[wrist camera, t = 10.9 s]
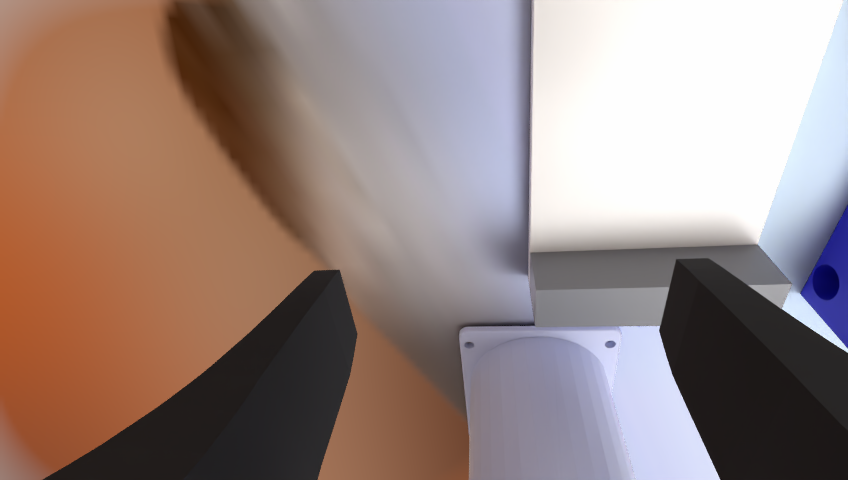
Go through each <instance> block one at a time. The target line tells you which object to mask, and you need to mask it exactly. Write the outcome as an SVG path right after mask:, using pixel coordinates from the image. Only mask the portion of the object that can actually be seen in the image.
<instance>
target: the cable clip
mask: <svg viewBox="0 0 848 480" xmlns="http://www.w3.org/2000/svg"><path fill="white" fill-rule="evenodd" d="M800 294H801V295H802V296H803V297H804V299H805V300H806V301H807V302H808V303H809V304H810V305H811V307H812V308H813V309H814V310H815V311H816V312H817V314H818V315H819V316H820V317H821V318H822V319H823V320H824V322H825V323H826V324H827V325H828V326H829V327H830V328H831V330H832V331H833V332H834V333H835V334H836V335H837V337H838V338H839V339H840V340H841V341H842V342H843V343H844V345H845V346H846V347H847V348H848V205H847V207H846V209H845V211H844V213H843V215H842V217H841V218H840V220H839V222H838V224H837V226H836V228H835V230H834V232H833V233H832V235H831V237H830V239H829V241H828V243H827V245H826V247H825V248H824V250H823V252H822V254H821V256H820V258H819V260H818V262H817V263H816V265H815V267H814V269H813V271H812V273H811V275H810V277H809V278H808V280H807V282H806V284H805V286H804V288H803V290H802V292H801V293H800Z"/></svg>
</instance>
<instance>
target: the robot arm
mask: <svg viewBox="0 0 848 480" xmlns="http://www.w3.org/2000/svg"><path fill="white" fill-rule="evenodd" d="M659 332H660V335H661V338H662V342H663V345H664V349H665V352H666V356H667V359H668V362H669V365H670V368H671V371H672V375H673V377H674V379H675V381H676V384H677V386H678V388H679V390H680V393H681V395H682V397H683V399H684V402H685V404H686V406H687V408H688V410H689V413H690V415H691V417H692V419H693V421H694V423H695V426H696V428H697V430H698V432H699V434H700V436H701V439H702V441H703V443H704V445H705V447H706V449H707V452H708V454H709V456H710V458H711V460H712V462H713V465H714V467H715V469H716V471H717V473H718V475H719V478H720V480H848V353H847V352H845V351H844V350H842V349H841V348H839V347H837V346H836V345H834V344H833V343H831V342H830V341H828V340H827V339H825V338H824V337H822V336H821V335H819V334H818V333H816V332H814V331H813V330H812V329H810V328H809V327H807V326H806V325H804V324H803V323H801V322H800V321H798V320H797V319H795V318H794V317H792V316H791V315H789V314H788V313H787V312H785V311H784V310H782V309H781V308H779V307H778V306H777V305H775V304H774V303H772V302H771V301H769V300H768V299H767V298H765V297H764V296H762V295H761V294H760V293H758V292H757V291H755V290H754V289H752V288H751V287H750V286H748V285H747V284H745V283H744V282H743V281H741V280H740V279H738V278H737V277H736V276H734V275H733V274H731V273H730V272H728V271H727V270H726V269H724V268H723V267H721V266H720V265H718V264H717V263H715V262H714V261H712V260H711V259H709V258H694V259H676V262H675V266H674V270H673V275H672V279H671V283H670V287H669V291H668V296H667V300H666V304H665V308H664V313H663V317H662V321H661V325H660V329H659ZM356 339H357V331H356V328H355V324H354V320H353V317H352V313H351V309H350V306H349V302H348V298H347V295H346V291H345V288H344V284H343V280H342V277H341V273H340V270H322V271H314V272H312V273H311V274H310V275H309V276H308V277H307V278H306V279H305V280H304V281H303V282H302V283H301V284H300V285H299V286H297V287H296V288H295V289H294V290H293V291H292V292H291V293H290V295H288V296H287V297H286V298H285V299H284V300H283V301H282V302H281V303H280V304H279V305H278V306H277V307H276V308H275V309H274V310H273V311H272V312H271V313H270V314H269V315H268V316H267V317H266V318H265V319H263V320H262V321H261V322H260V323H259V324H258V325H257V326H256V327H255V328H254V329H253V330H252V331H251V332H250V333H249V334H247V335H246V336H245V337H244V338H243V339H242V340H241V341H239V342H238V343H237V344H236V345H235V346H234V347H233V348H231V349H230V350H229V351H228V352H227V353H226V354H225V355H223V356H222V357H221V358H220V359H219V360H218V361H217V362H215V364H213V365H212V366H211V367H209V368H208V369H207V370H206V371H205V372H204V373H202V374H201V375H200V376H198V377H197V378H196V379H195V380H193V381H192V382H191V383H189V384H188V385H187V386H185V387H184V388H183V389H181V390H180V391H179V392H177V393H176V394H175V395H174V396H172V397H171V398H170V399H168V400H167V401H165V402H164V403H163V404H161V405H160V406H158V407H157V408H156V409H154V410H153V411H151V412H150V413H148V414H147V415H145V416H144V417H142V418H141V419H139V420H138V421H136V422H135V423H133V424H132V425H130V426H129V427H127V428H126V429H124V430H123V431H121V432H120V433H118V434H117V435H115V436H114V437H112V438H111V439H109V440H108V441H106V442H105V443H103V444H102V445H100V446H98V447H97V448H95V449H94V450H92V451H90V452H89V453H87V454H85V455H84V456H82V457H80V458H79V459H77V460H75V461H74V462H72V463H71V464H69V465H67V466H65V467H64V468H62V469H61V470H58V471H57V472H55V473H53V474H51V475H50V476H48V477H46V478H45V479H43V480H317V479H318V476H319V472H320V469H321V465H322V462H323V459H324V455H325V452H326V449H327V446H328V443H329V439H330V437H331V434H332V430H333V427H334V424H335V421H336V418H337V415H338V412H339V409H340V405H341V402H342V399H343V396H344V392H345V389H346V386H347V383H348V379H349V376H350V372H351V367H352V362H353V357H354V351H355V344H356ZM621 339H622V333H621V331H620V329H619V327H617V326H598V327H535V326H485V327H464V328H462V329H461V330H460V332H459V342H460V352H461V361H462V371H463V381H464V390H465V400H466V410H467V419H468V429H469V436H470V454H469V455H470V456H469V480H636V478H635V474H634V471H633V467H632V464H631V460H630V457H629V453H628V450H627V446H626V443H625V439H624V436H623V432H622V429H621V425H620V422H619V418H618V415H617V411H616V407H615V404H614V400H613V397H612V390H613V385H614V379H615V373H616V367H617V362H618V356H619V350H620V345H621ZM607 341H611V342H607ZM467 342H472V343H467Z"/></svg>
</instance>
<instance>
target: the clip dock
mask: <svg viewBox="0 0 848 480" xmlns="http://www.w3.org/2000/svg"><path fill="white" fill-rule="evenodd" d="M842 3H843V0H532V18H531V94H530V170H529V245H528V280H529V287H530V294H531V301H532V308H533V316H534V323H535V327H598V326H660V325H661V321H662V317H663V313H664V308H665V304H666V300H667V296H668V291H669V287H670V283H671V279H672V275H673V270H674V266H675V262H676V259H694V258H709V259H711V260H712V261H714V262H715V263H717V264H718V265H720V266H721V267H723V268H724V269H726V270H727V271H728V272H730V273H731V274H733V275H734V276H736V277H737V278H738V279H740V280H741V281H743V282H744V283H745V284H747V285H748V286H750V287H751V288H752V289H754V290H755V291H757V292H758V293H760V294H761V295H762V296H764V297H765V298H767V299H768V300H769V301H771V302H772V303H774V304H775V305H777V306H778V307H779V308H781V309H782V307H783V304H784V302H785V300H786V297H787V295H788V293H789V290H790V288H791V286H792V283H791V282H790V281H789V280H788V279H787V278H786V277H785V275H784V274H783V273H782V272H781V271H780V270H779V269H778V267H777V266H776V265H775V264H774V263H773V262H772V261H771V259H770V258H769V257H768V256H767V255H766V254H765V253H764V251H763V250H762V249H761V248H760V247H759V246H758V242H759V239H760V236H761V233H762V230H763V227H764V224H765V222H766V219H767V216H768V213H769V210H770V207H771V205H772V202H773V199H774V196H775V193H776V190H777V188H778V185H779V182H780V179H781V176H782V173H783V171H784V168H785V165H786V162H787V159H788V156H789V153H790V151H791V148H792V145H793V142H794V139H795V136H796V134H797V131H798V128H799V125H800V122H801V119H802V117H803V114H804V111H805V108H806V105H807V102H808V99H809V97H810V94H811V91H812V88H813V85H814V82H815V80H816V77H817V74H818V71H819V68H820V65H821V63H822V60H823V57H824V54H825V51H826V48H827V45H828V43H829V40H830V37H831V34H832V31H833V28H834V26H835V23H836V20H837V17H838V14H839V11H840V9H841V6H842Z"/></svg>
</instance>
